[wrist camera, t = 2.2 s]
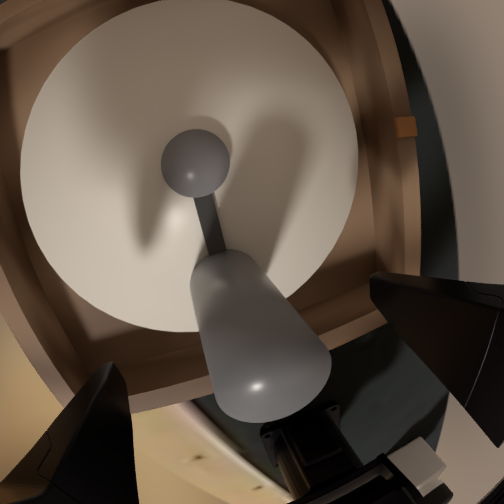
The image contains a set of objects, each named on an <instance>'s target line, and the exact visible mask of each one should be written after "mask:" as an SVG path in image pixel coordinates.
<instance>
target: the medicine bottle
mask: <svg viewBox="0 0 504 504" xmlns="http://www.w3.org/2000/svg"><path fill="white" fill-rule="evenodd" d="M387 457H388V458H389V459H390V460H391V462H392V463H393V464H394V465H395V466H396V467H397V468H398V469H399V470H400V471H401V472H402V473H403V474H404V475H405V476H406V477H407V478H408V479H409V480H410V481H411V482H412V483H413V484H414V485H415V487H416V488H417V489H418V490H419V492H420V493H421V495H422V496H423V498H424V500H425V501H426V504H447V503H448V502H449V501H450V500H451V499H452V497H453V493H452V492H451V491H450V489H449V488H448V487H447V486H446V485H445V484H444V482H443V481H442V480H438V479H437V478H438V476H440V474H441V473H442V472H443V471H444V469H445V468H446V464H445V463H444V462H443V461H442V460H441V458H440V457H439V456H438V455H437V454H436V453H435V452H434V451H433V450H432V448H431V447H430V446H429V445H428V444H427V443H426V442H425V441H424V440H423V438H422V437H418V438H416V439H414V440H413V441H411V442H410V443H408V444H406V445H405V446H403V447H401V448H400V449H398V450H396V451H395V452H393V453H391V454H389V455H387Z"/></svg>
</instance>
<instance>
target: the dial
mask: <svg viewBox="0 0 504 504" xmlns="http://www.w3.org/2000/svg"><path fill="white" fill-rule="evenodd" d="M357 175H358V144H357V135H356V128H355V124H354V120H353V116H352V112H351V109H350V106H349V103H348V101H347V98H346V95H345V93H344V91H343V89H342V87H341V85H340V83H339V81H338V79H337V78H336V76H335V74H334V72H333V71H332V69H331V68H330V67H329V65H328V64H327V62H326V61H325V60H324V58H323V57H322V56H321V55H320V54H319V52H318V51H317V50H316V49H315V48H314V47H313V46H312V45H311V44H310V43H309V42H308V41H307V40H306V39H305V38H304V37H302V36H301V35H300V34H299V33H297V32H296V31H295V30H294V29H292V28H291V27H290V26H288V25H286V24H285V23H283V22H282V21H280V20H278V19H277V18H275V17H273V16H271V15H269V14H267V13H265V12H263V11H260V10H258V9H255V8H253V7H251V6H247V5H244V4H240V3H237V2H233V1H229V0H161V1H157V2H153V3H149V4H146V5H142V6H139V7H136V8H133V9H131V10H129V11H126V12H124V13H122V14H120V15H118V16H115V17H113V18H112V19H110V20H108V21H107V22H105V23H103V24H102V25H100V26H99V27H97V28H96V29H94V30H93V31H91V32H90V33H89V34H88V35H86V36H85V37H84V38H83V39H81V40H80V41H79V42H78V43H77V44H76V45H74V46H73V47H72V49H71V50H70V51H69V52H68V53H67V54H66V55H65V56H64V57H63V58H62V59H61V61H60V62H59V63H58V64H57V65H56V67H55V68H54V70H53V71H52V73H51V74H50V75H49V77H48V78H47V80H46V81H45V83H44V85H43V87H42V88H41V90H40V92H39V94H38V96H37V98H36V101H35V103H34V105H33V107H32V110H31V113H30V116H29V119H28V122H27V125H26V128H25V133H24V139H23V144H22V150H21V166H20V179H21V189H22V197H23V203H24V207H25V211H26V215H27V218H28V222H29V225H30V227H31V229H32V232H33V234H34V237H35V239H36V241H37V244H38V245H39V247H40V249H41V251H42V252H43V254H44V256H45V257H46V259H47V261H48V262H49V264H50V265H51V266H52V267H53V269H54V270H55V271H56V272H57V274H58V275H59V276H60V277H61V279H62V280H63V281H64V282H65V283H66V284H67V285H68V286H69V287H70V288H72V289H73V290H74V291H75V292H76V293H77V294H78V295H79V296H81V297H82V298H83V299H85V300H86V301H87V302H89V303H90V304H92V305H93V306H94V307H96V308H98V309H100V310H101V311H103V312H105V313H107V314H109V315H111V316H113V317H115V318H117V319H120V320H122V321H125V322H128V323H130V324H133V325H137V326H141V327H145V328H149V329H153V330H161V331H170V332H198V331H199V334H200V338H201V342H202V346H203V351H204V355H205V359H206V363H207V367H208V371H209V375H210V379H211V382H212V386H213V390H214V394H215V397H216V400H217V403H218V405H219V407H220V408H221V409H222V410H223V412H225V413H226V414H227V415H228V416H230V417H232V418H234V419H237V420H240V421H244V422H251V423H261V422H269V421H274V420H278V419H281V418H284V417H286V416H289V415H291V414H293V413H295V412H297V411H298V410H300V409H302V408H303V407H305V406H306V405H307V404H309V403H310V402H311V401H312V400H313V399H314V398H315V397H316V396H317V395H318V394H319V393H320V391H321V390H322V389H323V387H324V386H325V384H326V382H327V380H328V378H329V375H330V371H331V356H330V353H329V350H328V349H327V347H326V346H325V345H324V343H323V342H322V341H321V340H320V339H319V337H318V336H317V335H316V334H315V333H314V331H313V330H312V329H311V328H310V327H309V325H308V324H307V323H306V322H305V321H304V319H303V318H302V317H301V316H300V315H299V313H298V312H297V311H296V310H295V309H294V307H293V306H292V305H291V304H290V303H289V302H288V300H287V299H286V298H287V297H289V296H290V295H291V294H293V293H294V292H295V291H296V290H297V289H298V288H299V287H301V286H302V285H303V284H304V283H305V282H306V281H307V280H308V279H309V278H310V277H311V276H312V275H313V274H314V272H315V271H316V270H317V269H318V268H319V267H320V266H321V264H322V263H323V262H324V260H325V259H326V257H327V256H328V254H329V253H330V252H331V250H332V249H333V247H334V245H335V243H336V241H337V240H338V238H339V236H340V234H341V232H342V230H343V228H344V225H345V223H346V220H347V218H348V215H349V213H350V209H351V206H352V202H353V198H354V194H355V189H356V182H357Z"/></svg>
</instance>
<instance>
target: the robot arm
mask: <svg viewBox="0 0 504 504" xmlns="http://www.w3.org/2000/svg"><path fill="white" fill-rule="evenodd" d="M369 289H370V299H371V301H372V302H373V304H374V305H375V306H376V308H377V309H378V310H379V312H380V313H381V314H382V315H383V317H384V318H385V319H386V321H387V322H388V323H389V325H390V326H391V327H392V328H393V330H394V331H395V332H396V333H397V334H398V335H399V336H400V337H401V338H402V340H403V341H404V342H405V343H406V344H407V345H408V346H409V347H410V348H411V349H412V350H413V351H414V352H415V353H416V355H417V356H418V357H419V358H420V359H421V360H422V361H423V362H424V363H425V364H426V365H427V367H428V368H429V369H430V370H431V371H432V372H433V373H434V374H435V375H436V377H437V378H438V379H439V380H440V381H441V382H442V383H443V384H444V386H445V387H446V388H447V389H448V390H449V391H450V392H451V394H452V395H453V396H454V397H455V398H456V399H457V400H458V401H459V403H460V404H461V405H462V406H463V407H464V408H465V410H466V411H467V412H468V413H469V415H470V416H471V417H472V418H473V419H474V421H475V422H476V423H477V424H478V425H479V426H480V428H481V429H482V430H483V431H484V433H485V434H486V435H487V436H488V437H489V439H490V440H491V441H492V442H493V444H494V445H495V446H496V447H497V448H499V447H500V446H501V445H502V444H503V442H504V285H501V284H485V283H476V282H464V281H458V280H450V279H441V278H433V277H424V276H416V275H407V274H399V273H391V272H382V271H379V272H376V273H374V274H372V275H371V276H370V278H369ZM260 436H261V439H262V441H263V444H264V446H265V449H266V451H267V454H268V456H269V458H270V461H271V463H272V466H273V467H275V468H277V467H279V468H280V471H281V473H282V475H283V477H284V479H285V482H286V484H287V486H288V488H289V490H290V492H291V494H292V497H293V499H294V501H292V502H290V503H287V504H426V501H425V500H424V498H423V496H422V495H421V493H420V492H419V490H418V489H417V488H416V487H415V485H414V484H413V483H412V482H411V481H410V480H409V479H408V478H407V477H406V476H405V475H404V474H403V473H402V472H401V471H400V470H399V469H398V468H397V467H396V466H395V465H394V464H393V463H392V462H391V460H390V459H389V458H388V457H387V456H386V455H385V454H384V453H382V454H380V455H379V456H377V458H376V459H374V460H373V461H371V462H369V463H368V464H366V465H363V463H362V462H361V461H360V459H359V458H358V456H357V455H356V453H355V452H354V450H353V449H352V447H351V446H350V445H349V443H348V442H347V440H346V439H345V437H344V436H343V434H342V433H341V431H340V406H339V404H338V403H337V402H336V401H333V402H331V403H329V404H326V405H324V406H322V407H320V408H317V409H315V410H313V411H311V412H308V413H306V414H303V415H301V416H299V417H296V418H294V419H291V420H288V421H286V422H283V423H281V424H278V425H275V426H273V427H270V428H267V429H264V430H262V431H261V432H260ZM0 504H139V498H138V490H137V482H136V472H135V460H134V446H133V429H132V419H131V413H130V406H129V399H128V391H127V384H126V381H125V379H124V378H123V376H122V374H121V373H120V371H119V369H118V368H117V366H116V365H115V363H114V362H107V363H103V364H101V365H100V366H99V367H98V369H97V370H96V371H95V372H94V373H93V374H92V376H91V377H90V378H89V379H88V380H87V382H86V383H85V384H84V385H83V386H82V388H81V389H80V390H79V391H78V392H77V393H76V395H75V396H74V397H73V398H72V400H71V401H70V402H69V403H68V404H67V406H66V407H65V408H64V409H63V410H62V412H61V413H60V414H59V415H58V417H57V418H56V419H55V420H54V422H53V423H52V424H51V425H50V427H49V428H48V429H47V431H45V433H44V434H43V435H42V437H41V438H40V439H39V440H38V441H37V443H36V444H35V445H34V447H33V448H32V449H31V450H30V451H29V452H28V453H27V454H26V456H25V457H24V458H23V459H22V460H21V461H20V462H19V463H18V464H17V465H16V467H15V468H14V469H13V470H12V471H11V472H10V473H9V474H8V475H7V476H6V477H5V478H4V480H2V481H1V482H0ZM477 504H504V477H503V478H502V479H501V480H500V481H499V483H497V484H496V485H495V487H494V488H493V489H492V490H491V491H490V492H489V493H487V495H485V496H484V497H483V498H482V499H481V500H480V501H479V502H478V503H477Z"/></svg>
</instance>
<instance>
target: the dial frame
mask: <svg viewBox="0 0 504 504" xmlns="http://www.w3.org/2000/svg"><path fill="white" fill-rule="evenodd" d="M157 1H161V0H7V1H6V2H4V3H2V4H1V5H0V311H1V313H2V315H3V317H4V319H5V321H6V322H7V324H8V326H9V328H10V330H11V331H12V333H13V335H14V337H15V338H16V340H17V341H18V343H19V345H20V346H21V348H22V350H23V351H24V353H25V354H26V356H27V358H28V359H29V361H30V362H31V364H32V365H33V367H34V368H35V370H36V371H37V373H38V374H39V375H40V377H41V378H42V380H43V381H44V382H45V384H46V385H47V387H48V388H49V389H50V391H51V392H52V393H53V394H54V396H55V397H56V399H57V400H58V401H59V402H60V403H61V405H62V406H63V407H64V408H65V407H66V406H67V404H68V403H69V402H70V401H71V400H72V398H73V397H74V396H75V395H76V393H77V392H78V391H79V390H80V389H81V388H82V386H83V385H84V384H85V383H86V382H87V380H88V379H89V378H90V377H91V376H92V374H93V373H94V372H95V371H96V370H97V369H98V367H99V366H100V365H101V364H103V363H107V362H114V363H115V365H116V366H117V368H118V369H119V371H120V373H121V374H122V376H123V378H124V379H125V381H126V384H127V391H128V399H129V406H130V413H131V414H133V413H138V412H142V411H147V410H151V409H156V408H160V407H164V406H168V405H172V404H176V403H180V402H184V401H187V400H191V399H195V398H198V397H202V396H205V395H209V394H212V393H214V390H213V386H212V382H211V379H210V375H209V371H208V367H207V363H206V359H205V355H204V351H203V346H202V342H201V338H200V334H199V331H198V332H170V331H161V330H153V329H149V328H145V327H141V326H137V325H133V324H130V323H128V322H125V321H122V320H120V319H117V318H115V317H113V316H111V315H109V314H107V313H105V312H103V311H101V310H100V309H98V308H96V307H94V306H93V305H92V304H90V303H89V302H87V301H86V300H85V299H83V298H82V297H81V296H79V295H78V294H77V293H76V292H75V291H74V290H73V289H72V288H70V287H69V286H68V285H67V284H66V283H65V282H64V281H63V280H62V279H61V277H60V276H59V275H58V274H57V272H56V271H55V270H54V269H53V267H52V266H51V265H50V264H49V262H48V261H47V259H46V257H45V256H44V254H43V252H42V251H41V249H40V247H39V245H38V244H37V241H36V239H35V237H34V234H33V232H32V229H31V227H30V225H29V222H28V218H27V215H26V211H25V207H24V203H23V197H22V189H21V179H20V166H21V150H22V144H23V139H24V133H25V128H26V125H27V122H28V119H29V116H30V113H31V110H32V107H33V105H34V103H35V101H36V98H37V96H38V94H39V92H40V90H41V88H42V87H43V85H44V83H45V81H46V80H47V78H48V77H49V75H50V74H51V73H52V71H53V70H54V68H55V67H56V65H57V64H58V63H59V62H60V61H61V59H62V58H63V57H64V56H65V55H66V54H67V53H68V52H69V51H70V50H71V49H72V47H73V46H74V45H76V44H77V43H78V42H79V41H80V40H81V39H83V38H84V37H85V36H86V35H88V34H89V33H90V32H91V31H93V30H94V29H96V28H97V27H99V26H100V25H102V24H103V23H105V22H107V21H108V20H110V19H112V18H113V17H115V16H118V15H120V14H122V13H124V12H126V11H129V10H131V9H133V8H136V7H139V6H142V5H146V4H149V3H153V2H157ZM229 1H233V2H237V3H240V4H244V5H247V6H251V7H253V8H255V9H258V10H260V11H263V12H265V13H267V14H269V15H271V16H273V17H275V18H277V19H278V20H280V21H282V22H283V23H285V24H286V25H288V26H290V27H291V28H292V29H294V30H295V31H296V32H297V33H299V34H300V35H301V36H302V37H304V38H305V39H306V40H307V41H308V42H309V43H310V44H311V45H312V46H313V47H314V48H315V49H316V50H317V51H318V52H319V54H320V55H321V56H322V57H323V58H324V60H325V61H326V62H327V64H328V65H329V67H330V68H331V69H332V71H333V72H334V74H335V76H336V78H337V79H338V81H339V83H340V85H341V87H342V89H343V91H344V93H345V95H346V98H347V101H348V103H349V106H350V109H351V112H352V116H353V120H354V124H355V128H356V135H357V144H358V175H357V182H356V189H355V194H354V198H353V202H352V206H351V209H350V213H349V215H348V218H347V220H346V223H345V225H344V228H343V230H342V232H341V234H340V236H339V238H338V240H337V241H336V243H335V245H334V247H333V249H332V250H331V252H330V253H329V254H328V256H327V257H326V259H325V260H324V262H323V263H322V264H321V266H320V267H319V268H318V269H317V270H316V271H315V272H314V274H313V275H312V276H311V277H310V278H309V279H308V280H307V281H306V282H305V283H304V284H303V285H302V286H301V287H299V288H298V289H297V290H296V291H295V292H294V293H293V294H291V295H290V296H289V297H287V298H286V299H287V300H288V302H289V303H290V304H291V305H292V306H293V307H294V309H295V310H296V311H297V312H298V313H299V315H300V316H301V317H302V318H303V319H304V321H305V322H306V323H307V324H308V325H309V327H310V328H311V329H312V330H313V331H314V333H315V334H316V335H317V336H318V337H319V339H320V340H321V341H322V342H323V343H324V345H325V346H326V347H327V349H328V350H331V349H334V348H336V347H338V346H340V345H343V344H345V343H347V342H349V341H351V340H353V339H356V338H358V337H360V336H362V335H364V334H366V333H368V332H370V331H372V330H374V329H376V328H378V327H380V326H382V325H384V324H386V323H388V322H387V321H386V319H385V318H384V317H383V315H382V314H381V313H380V312H379V310H378V309H377V308H376V306H375V305H374V304H373V302H372V301H371V299H370V289H369V278H370V276H371V275H372V274H374V273H376V272H379V271H382V272H391V273H399V274H407V275H416V276H420V260H421V208H420V187H419V173H418V162H417V152H416V144H415V136H417V129H416V122H415V116H413V117H412V116H411V110H410V104H409V99H408V94H407V89H406V84H405V79H404V75H403V71H402V66H401V62H400V58H399V54H398V51H397V47H396V44H395V40H394V37H393V33H392V30H391V27H390V24H389V21H388V17H387V14H386V12H385V9H384V6H383V3H382V0H229Z"/></svg>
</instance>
